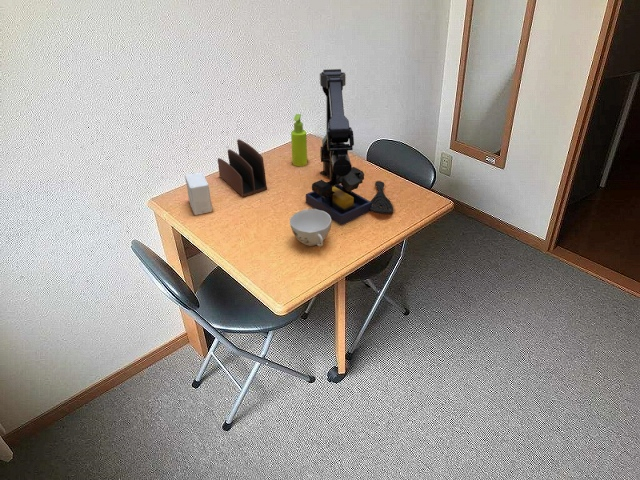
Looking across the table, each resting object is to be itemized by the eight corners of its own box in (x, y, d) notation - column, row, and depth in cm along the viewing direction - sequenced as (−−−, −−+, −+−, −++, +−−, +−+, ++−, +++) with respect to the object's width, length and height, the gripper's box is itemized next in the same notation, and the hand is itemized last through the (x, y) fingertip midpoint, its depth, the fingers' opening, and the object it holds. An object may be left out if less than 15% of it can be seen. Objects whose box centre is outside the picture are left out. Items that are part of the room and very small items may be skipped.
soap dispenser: (290, 167, 192) (288, 118, 181) (294, 159, 198) (292, 111, 186) (305, 167, 191) (303, 119, 180) (308, 160, 197) (307, 112, 185)
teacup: (285, 234, 154) (284, 213, 149) (321, 226, 157) (321, 204, 153) (302, 261, 142) (301, 239, 138) (341, 251, 146) (341, 229, 141)
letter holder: (242, 169, 191) (238, 135, 183) (267, 189, 177) (264, 154, 169) (219, 176, 186) (214, 142, 178) (242, 197, 173) (238, 161, 165)
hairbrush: (391, 176, 179) (395, 210, 158) (389, 185, 181) (394, 219, 160) (368, 175, 179) (370, 208, 158) (367, 184, 181) (368, 217, 160)
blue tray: (305, 202, 169) (305, 194, 167) (335, 190, 176) (335, 181, 174) (341, 225, 158) (341, 216, 156) (371, 211, 165) (371, 202, 163)
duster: (321, 201, 169) (321, 188, 166) (332, 196, 172) (332, 184, 169) (344, 215, 162) (344, 202, 159) (355, 210, 164) (355, 197, 161)
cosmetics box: (213, 211, 165) (209, 184, 159) (194, 215, 163) (189, 188, 157) (207, 197, 173) (202, 171, 167) (188, 201, 171) (183, 174, 165)
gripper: (332, 179, 147) (332, 222, 156) (376, 161, 157) (374, 203, 166) (310, 166, 154) (311, 208, 163) (353, 150, 164) (352, 190, 173)
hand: (338, 203), depth 166 cm, fingers open, 7 cm apart
